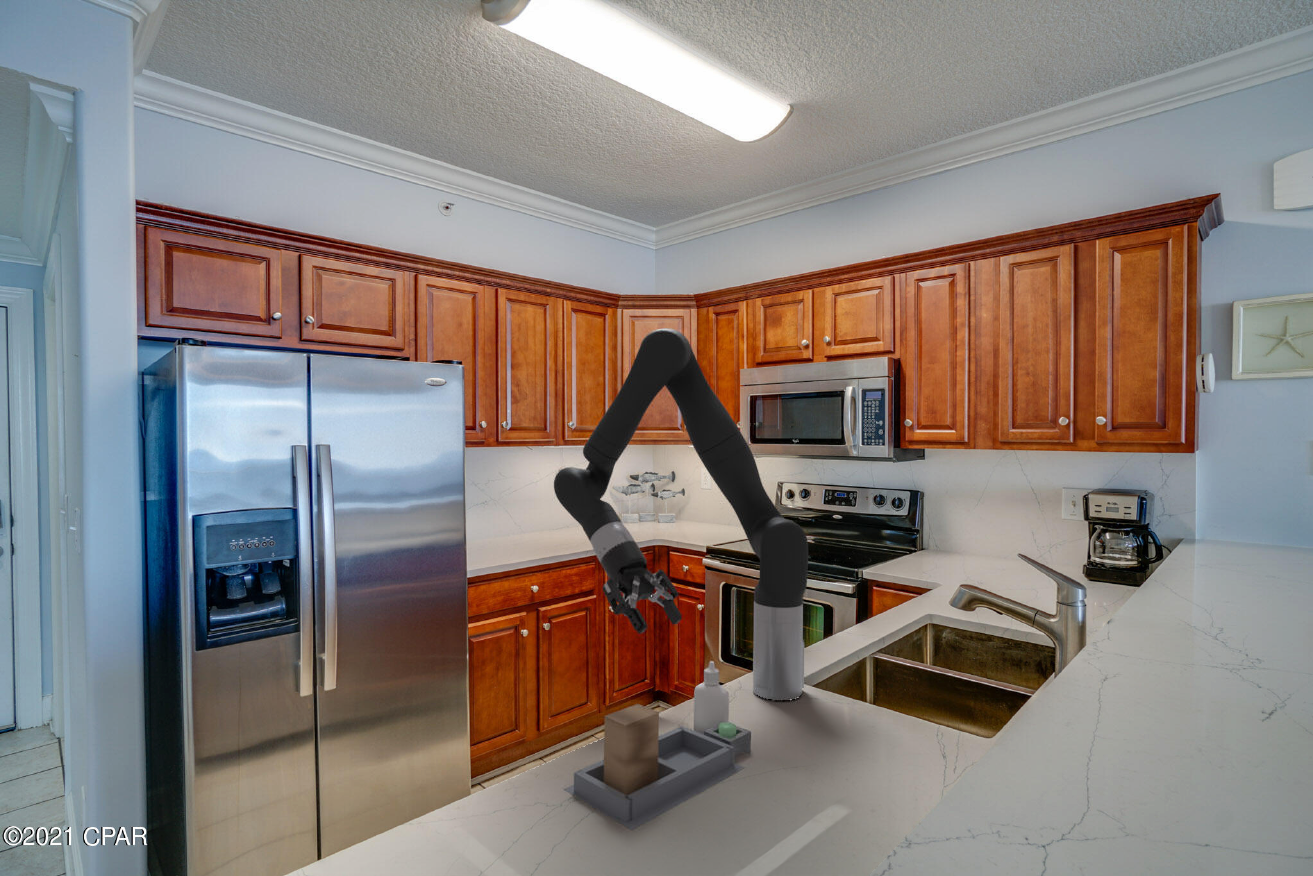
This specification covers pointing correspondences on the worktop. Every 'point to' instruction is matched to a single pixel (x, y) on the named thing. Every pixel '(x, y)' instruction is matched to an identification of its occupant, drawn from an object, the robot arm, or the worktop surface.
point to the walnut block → (631, 749)
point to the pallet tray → (660, 778)
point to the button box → (733, 739)
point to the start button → (727, 729)
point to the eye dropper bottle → (710, 701)
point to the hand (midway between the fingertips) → (661, 626)
